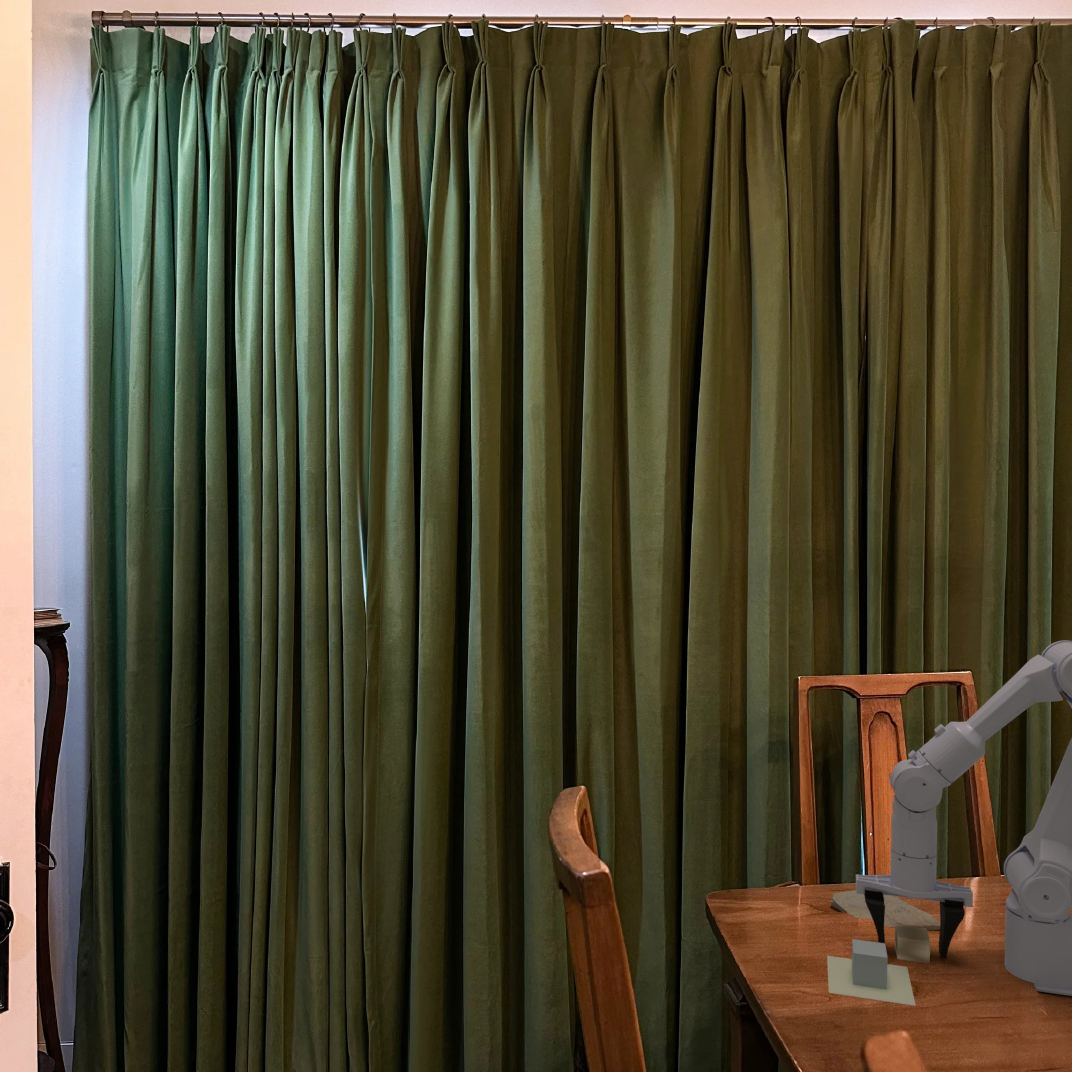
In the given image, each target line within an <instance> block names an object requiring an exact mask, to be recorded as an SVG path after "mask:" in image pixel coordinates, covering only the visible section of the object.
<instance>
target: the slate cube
mask: <svg viewBox="0 0 1072 1072" xmlns="http://www.w3.org/2000/svg"><path fill="white" fill-rule="evenodd" d="M888 957H889V956H888V953H887V948H886V942H885V943H878V941H877V942H876V941H868V940H861V939H853V938H852V939H851V959H852V978H853V985H860V986H867V987H874V988H881V989H887V964H888V960H889V959H888Z"/></svg>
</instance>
